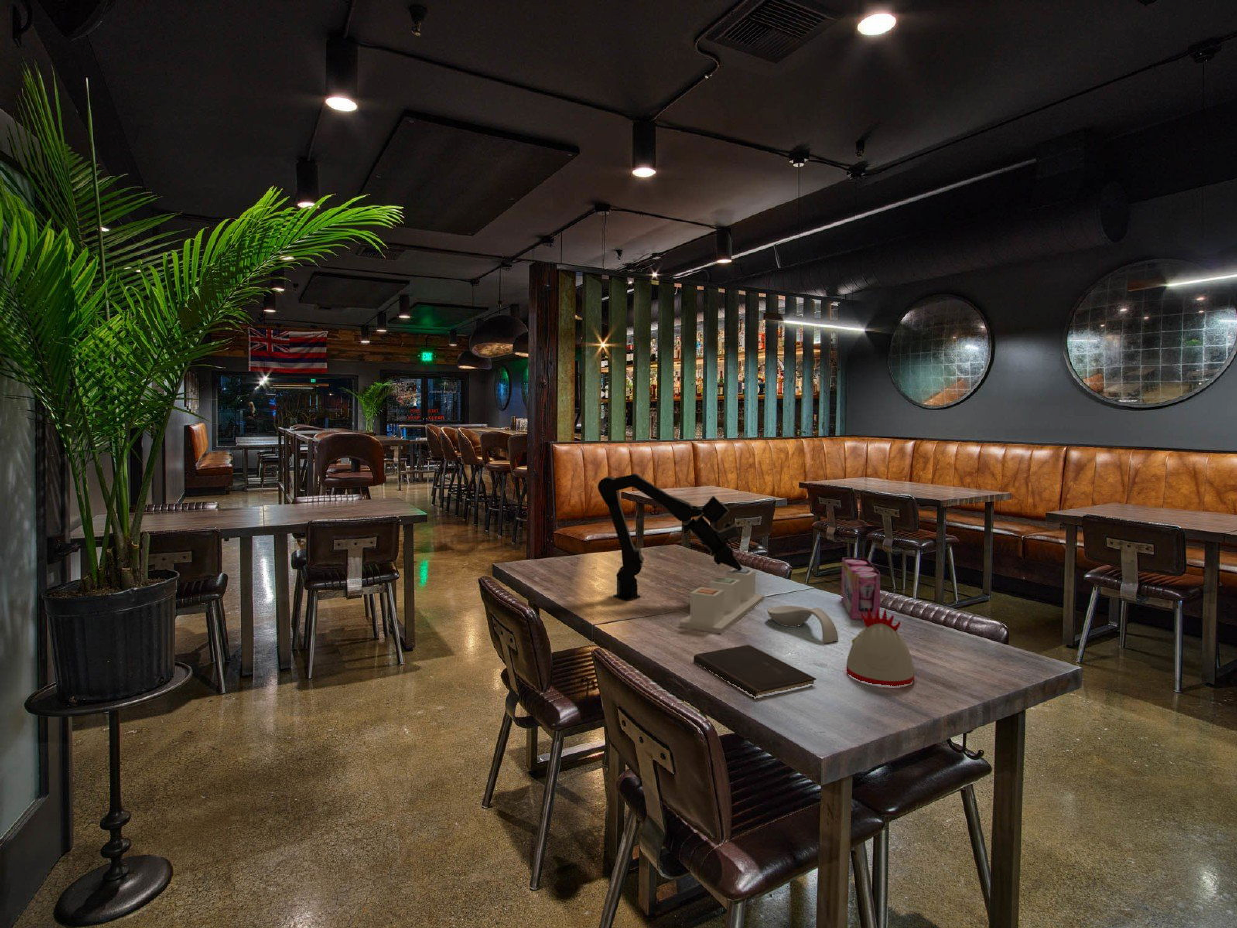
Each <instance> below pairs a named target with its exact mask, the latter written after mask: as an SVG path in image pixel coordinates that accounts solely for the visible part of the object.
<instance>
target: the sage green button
mask: <svg viewBox="0 0 1237 928" xmlns="http://www.w3.org/2000/svg"><path fill="white" fill-rule="evenodd" d="M716 582H722V583H729V584H731V583H732V582H734V579H726V577H723V578H720V579H718V580H717V581H716Z"/></svg>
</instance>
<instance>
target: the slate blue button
mask: <svg viewBox="0 0 1237 928" xmlns="http://www.w3.org/2000/svg"><path fill="white" fill-rule="evenodd" d="M749 570H750V569H746V568H742V569H741V570H737V569H735V570H733V572H734V573H743V574H747V573H749Z"/></svg>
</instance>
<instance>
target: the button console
mask: <svg viewBox="0 0 1237 928" xmlns="http://www.w3.org/2000/svg"><path fill="white" fill-rule="evenodd" d="M733 570H735V568H733V567H732V569H730V570H728V571H726V574H725V575H726V577H725V578H726V579H734V582H732V583H731V584H729V583H722V582H716V581H717V580H718V579H720V578H724V577H722V576H717V577H716V578H714V579H712V580H711V581H709V587H702V586H700V587H697V588H696V589H694V590H693V591H691V592H690V596H689V597H690V599H689V600H690V607H689V608H690V609H689V610H690V612H689V613H690V614H689V615H687V616H686V617H684V618H683V619H681V620H680V621H679V628H683V629H687V630H688V629H689V630H694V629H698V630H697V631H700V630H703V631H702V632H706V631H708V633H711V632H712V633H713V634H717V633H722V634H723V633H725V632H726V631H727V630H728V629H730V628H731V627H732V626H734V625H735V624H736V623H737V622H738V621H740V620H741V619H742V618H744V617H745V616H746V615H748V613H747V612H749V611H750V610H751V609H752V610H754V609H755V608H756V607H757V606H759V605H760V604H761V603H763V602H764V601H765V595H762V594H756V570H754V569H748V570H749V573H747V574H743V573H734V572H733ZM703 588H706V589H713V590H717V592H716V593H715V594H713V595H711V594H704V593H698V591H699V590H701V589H703ZM763 600H764V601H763ZM762 601H763V602H762ZM760 602H761V603H760ZM759 603H760V604H759ZM758 604H759V605H758ZM756 605H757V606H756ZM755 606H756V607H755ZM754 607H755V608H754ZM753 608H754V609H753ZM752 610H751V611H752ZM751 611H750V612H751ZM750 612H749V613H750ZM743 616H744V617H743ZM740 618H741V619H740ZM739 619H740V620H739ZM735 622H736V623H735ZM734 623H735V624H734ZM730 626H731V627H730ZM729 627H730V628H729ZM726 629H727V630H726ZM725 630H726V631H725ZM724 631H725V632H724ZM712 633H711V634H712Z"/></svg>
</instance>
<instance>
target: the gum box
mask: <svg viewBox="0 0 1237 928" xmlns="http://www.w3.org/2000/svg"><path fill="white" fill-rule="evenodd" d="M840 593H841V597H843V598H841V601H842V600H843V601H842V603H843V605H844V607H845V609H846V612H847V614H848V613H849V614H848V615H850V616H849V618H850V619H851V620H857V619H862V617H861V613H862V614H863V616H864V617H865V618H867V617H868V608H869V609H870V612H871V615H872V617H873V618H875V615H876V612H877V609H878V610H879V616H880V614H881V613H880V612H881V611H880V608H881V603H880V602H881V573H880V571H879V570H878V569H877V568H876V567H875V566H874V565H873V563H872V562H871V561H870V560H869V559H868V557H867V558H866V557H850V556H849V557H848V556H847V557H842V560H841V592H840Z"/></svg>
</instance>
